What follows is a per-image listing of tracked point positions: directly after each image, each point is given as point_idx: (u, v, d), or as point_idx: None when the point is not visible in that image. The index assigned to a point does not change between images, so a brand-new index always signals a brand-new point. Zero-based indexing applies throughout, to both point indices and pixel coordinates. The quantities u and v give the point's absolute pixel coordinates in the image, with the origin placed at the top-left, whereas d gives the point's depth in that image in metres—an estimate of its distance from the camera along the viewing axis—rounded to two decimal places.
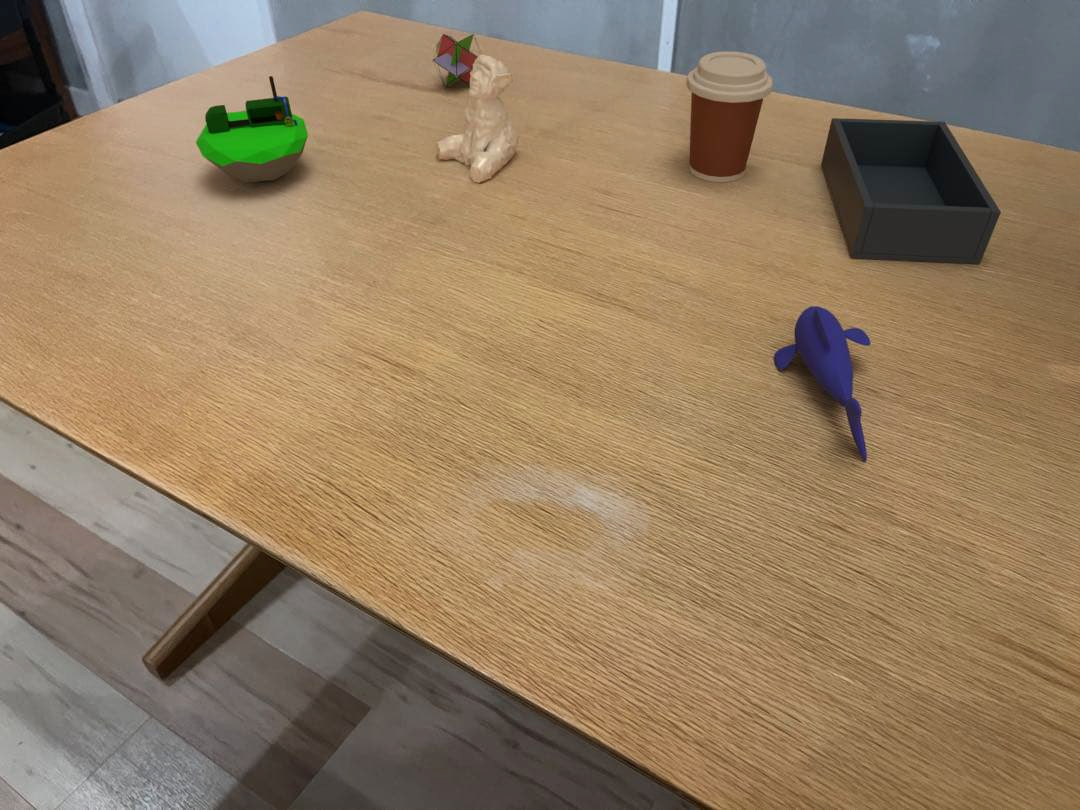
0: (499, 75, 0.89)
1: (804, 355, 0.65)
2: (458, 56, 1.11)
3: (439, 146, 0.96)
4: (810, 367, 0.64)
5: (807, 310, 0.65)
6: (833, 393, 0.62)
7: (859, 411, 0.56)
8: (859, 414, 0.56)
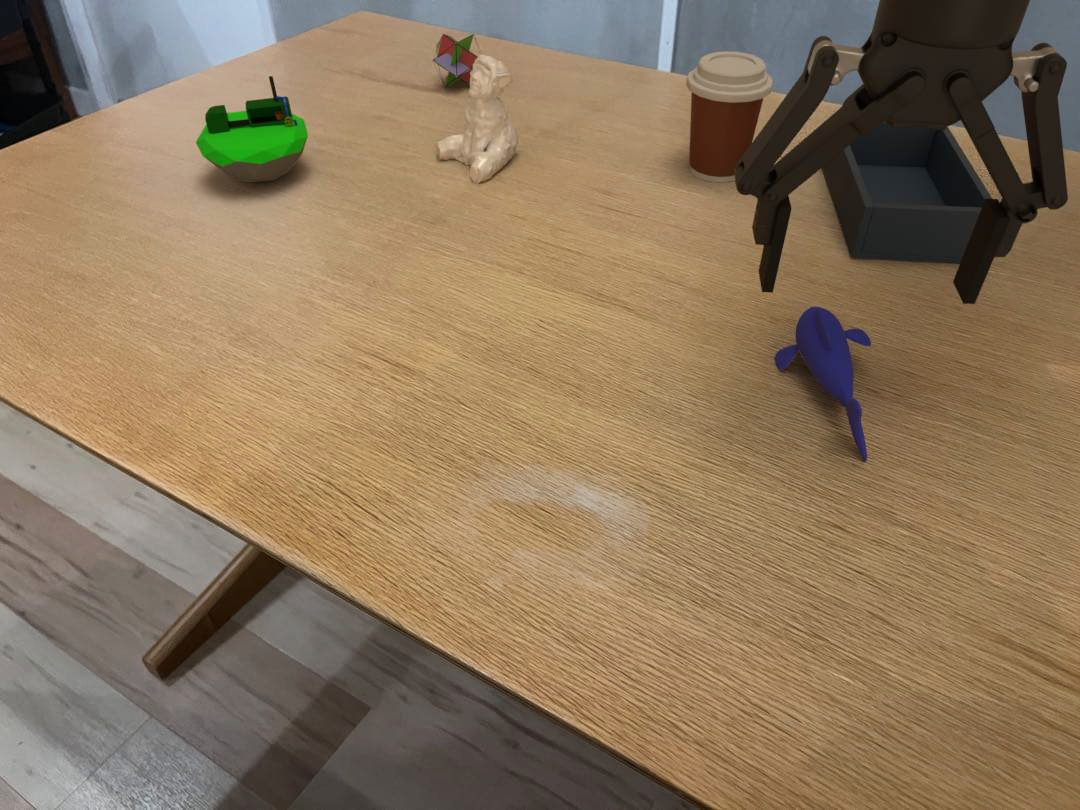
0: (499, 75, 0.89)
1: (805, 355, 0.65)
2: (458, 56, 1.11)
3: (439, 146, 0.96)
4: (811, 367, 0.64)
5: (808, 310, 0.65)
6: (834, 393, 0.61)
7: (859, 411, 0.56)
8: (859, 414, 0.56)
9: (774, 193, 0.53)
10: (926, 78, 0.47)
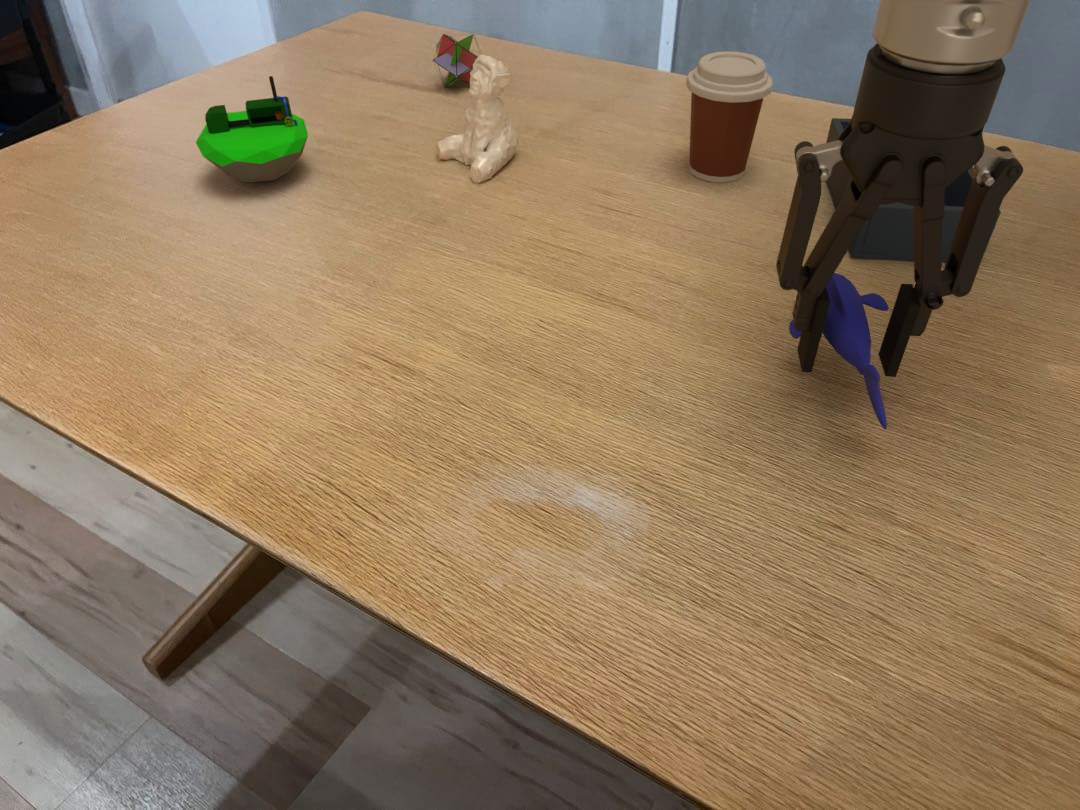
0: (499, 75, 0.89)
1: None
2: (458, 56, 1.11)
3: (439, 146, 0.96)
4: (826, 335, 0.62)
5: None
6: (850, 360, 0.60)
7: (877, 377, 0.54)
8: (877, 380, 0.54)
9: (812, 288, 0.57)
10: (903, 161, 0.51)
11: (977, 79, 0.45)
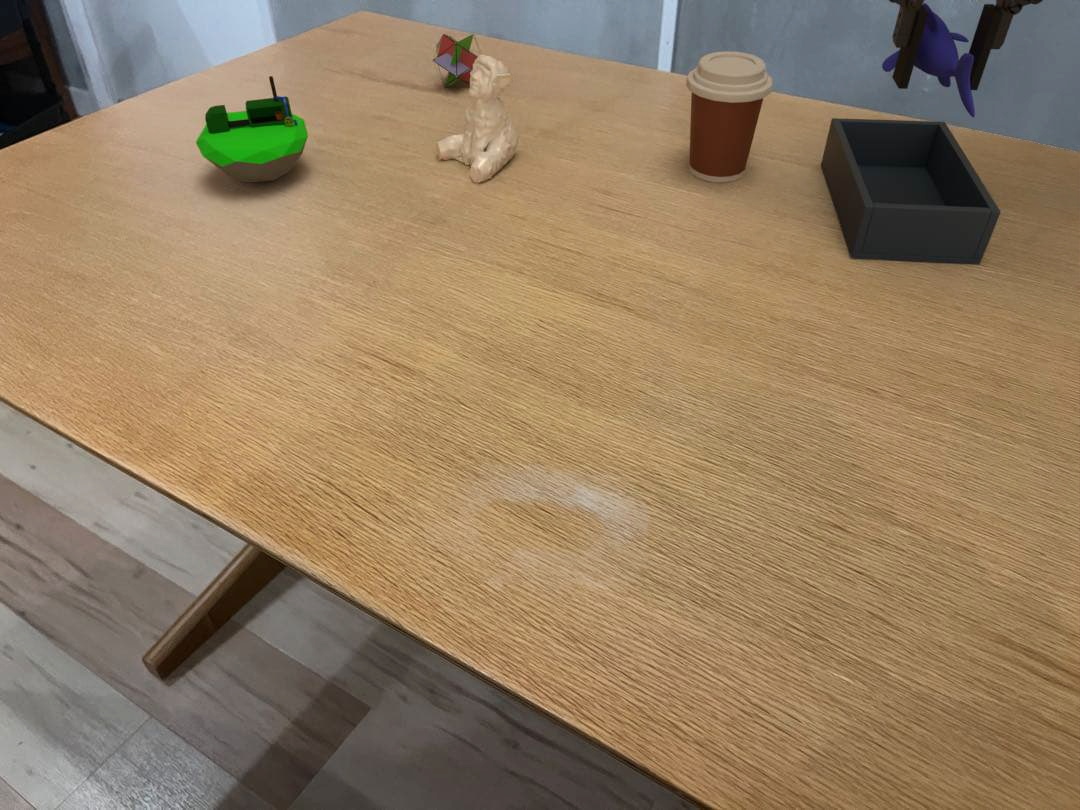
0: (499, 75, 0.89)
1: None
2: (458, 56, 1.11)
3: (439, 146, 0.96)
4: (919, 56, 0.75)
5: None
6: (942, 68, 0.72)
7: (972, 57, 0.67)
8: (972, 61, 0.67)
9: (915, 0, 0.70)
10: None
11: None
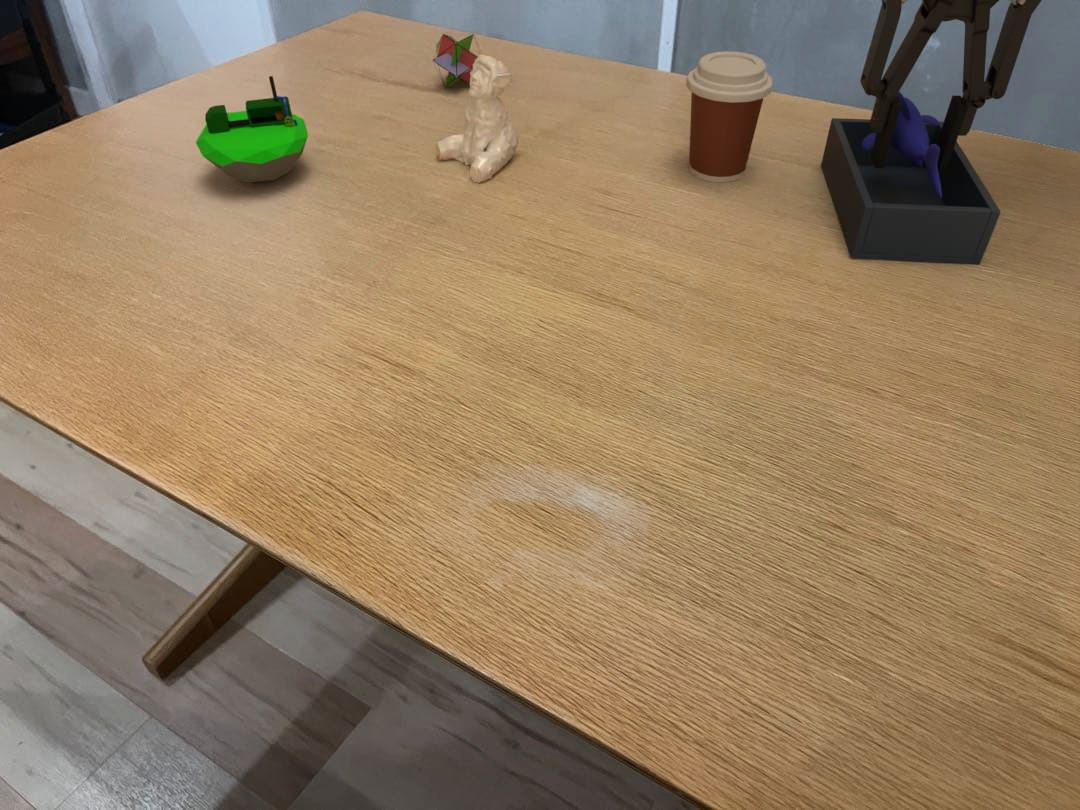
0: (499, 75, 0.89)
1: None
2: (458, 56, 1.11)
3: (439, 146, 0.96)
4: (894, 139, 0.82)
5: None
6: (914, 152, 0.80)
7: (938, 149, 0.74)
8: (938, 152, 0.75)
9: (889, 93, 0.78)
10: None
11: None
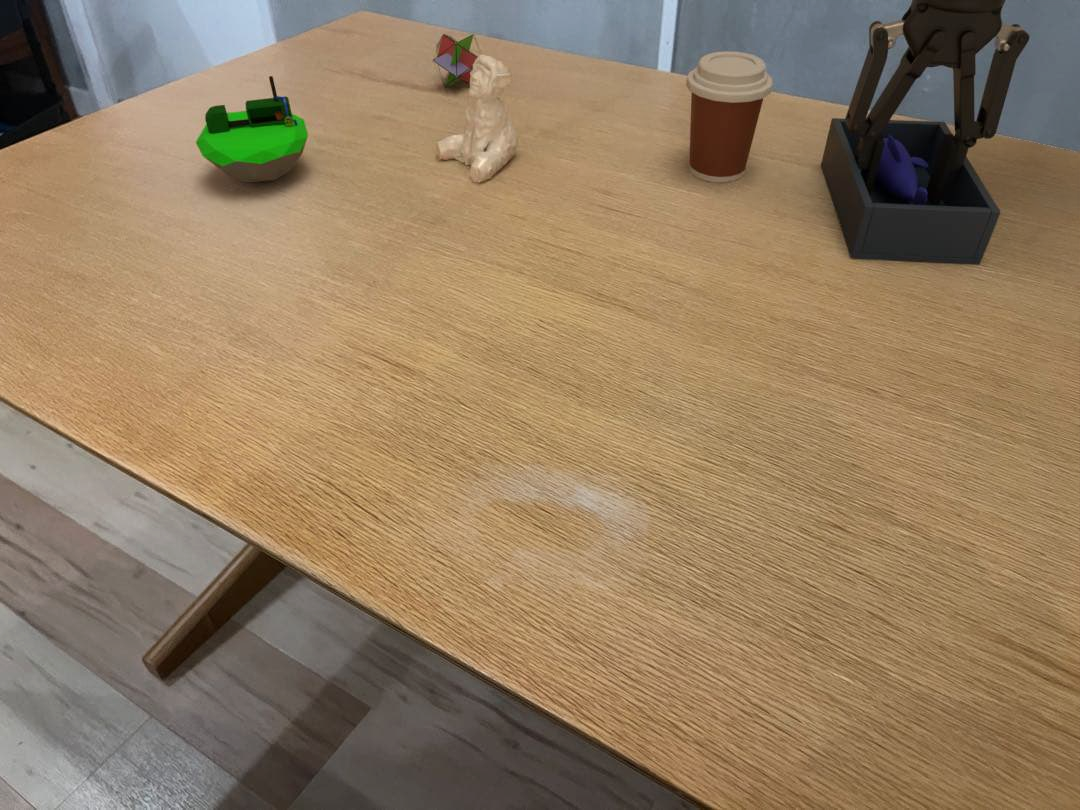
0: (499, 75, 0.89)
1: (879, 172, 0.86)
2: (458, 56, 1.11)
3: (439, 146, 0.96)
4: (884, 180, 0.85)
5: None
6: (903, 194, 0.83)
7: (926, 192, 0.77)
8: (926, 195, 0.78)
9: (873, 132, 0.80)
10: (946, 33, 0.74)
11: None
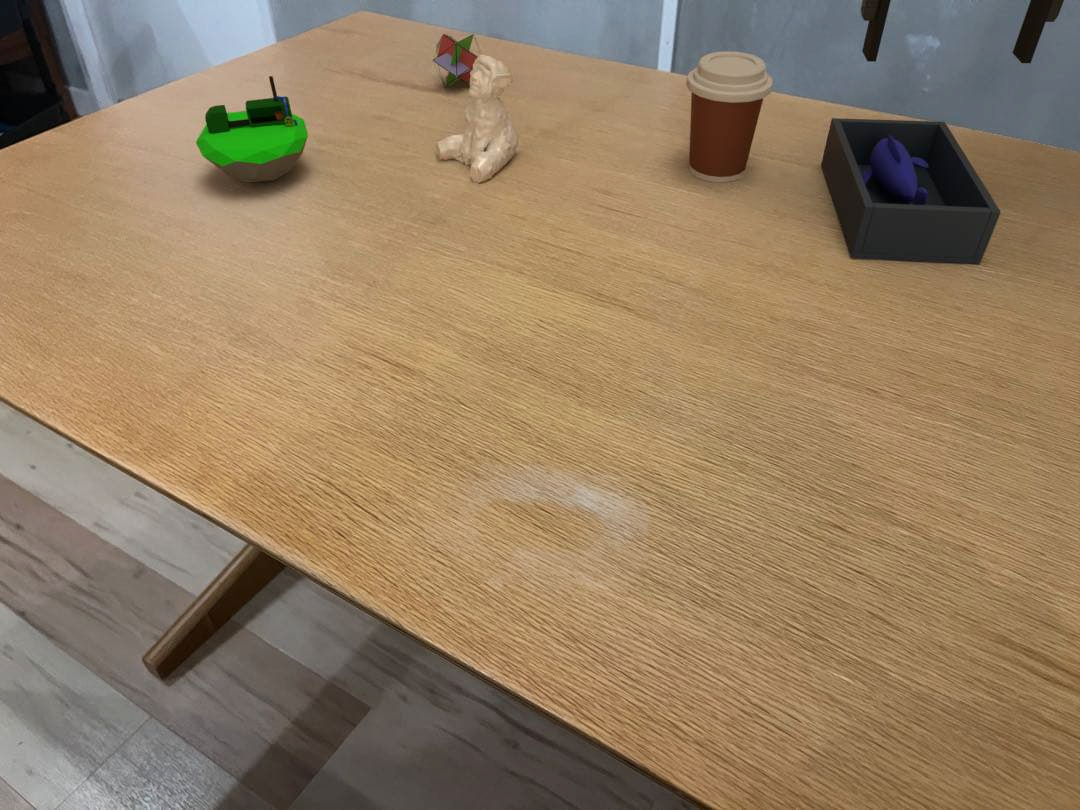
0: (499, 75, 0.89)
1: (879, 172, 0.86)
2: (458, 56, 1.11)
3: (439, 146, 0.96)
4: (884, 180, 0.85)
5: (881, 140, 0.87)
6: (903, 194, 0.83)
7: (926, 192, 0.77)
8: (926, 195, 0.78)
9: None
10: None
11: None
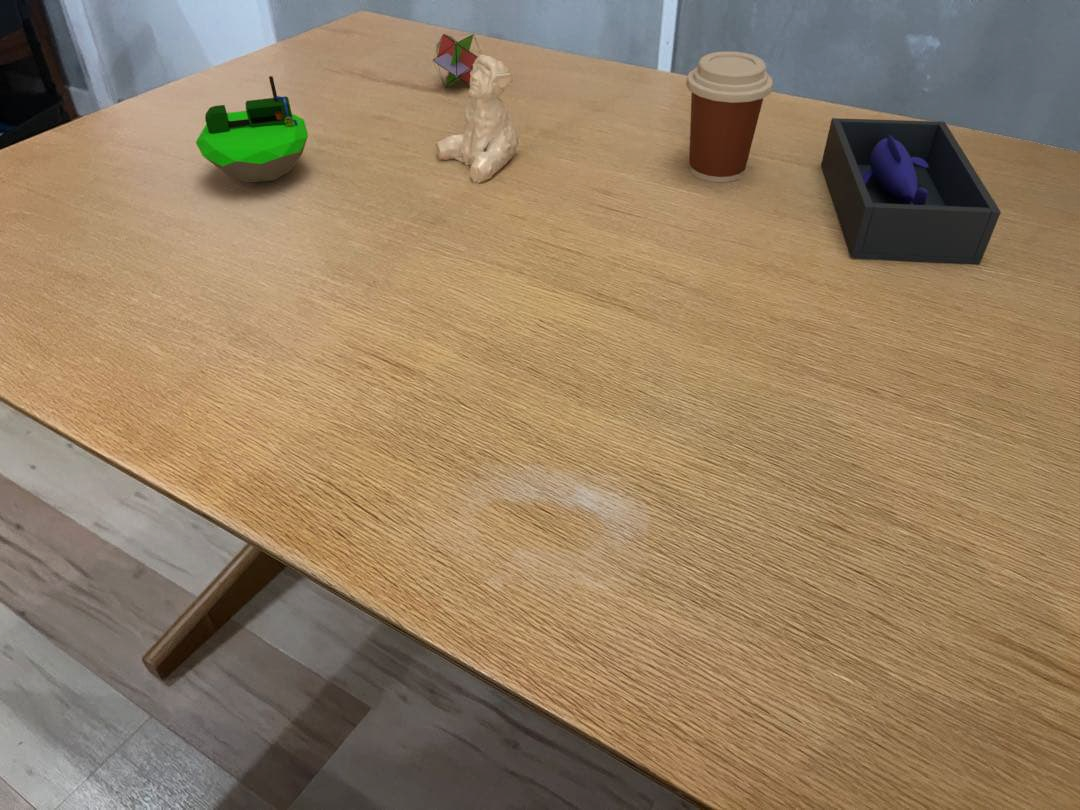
0: (499, 75, 0.89)
1: (879, 172, 0.86)
2: (458, 56, 1.11)
3: (439, 146, 0.96)
4: (884, 180, 0.85)
5: (881, 140, 0.87)
6: (903, 194, 0.83)
7: (926, 192, 0.77)
8: (926, 195, 0.78)
9: None
10: None
11: None
